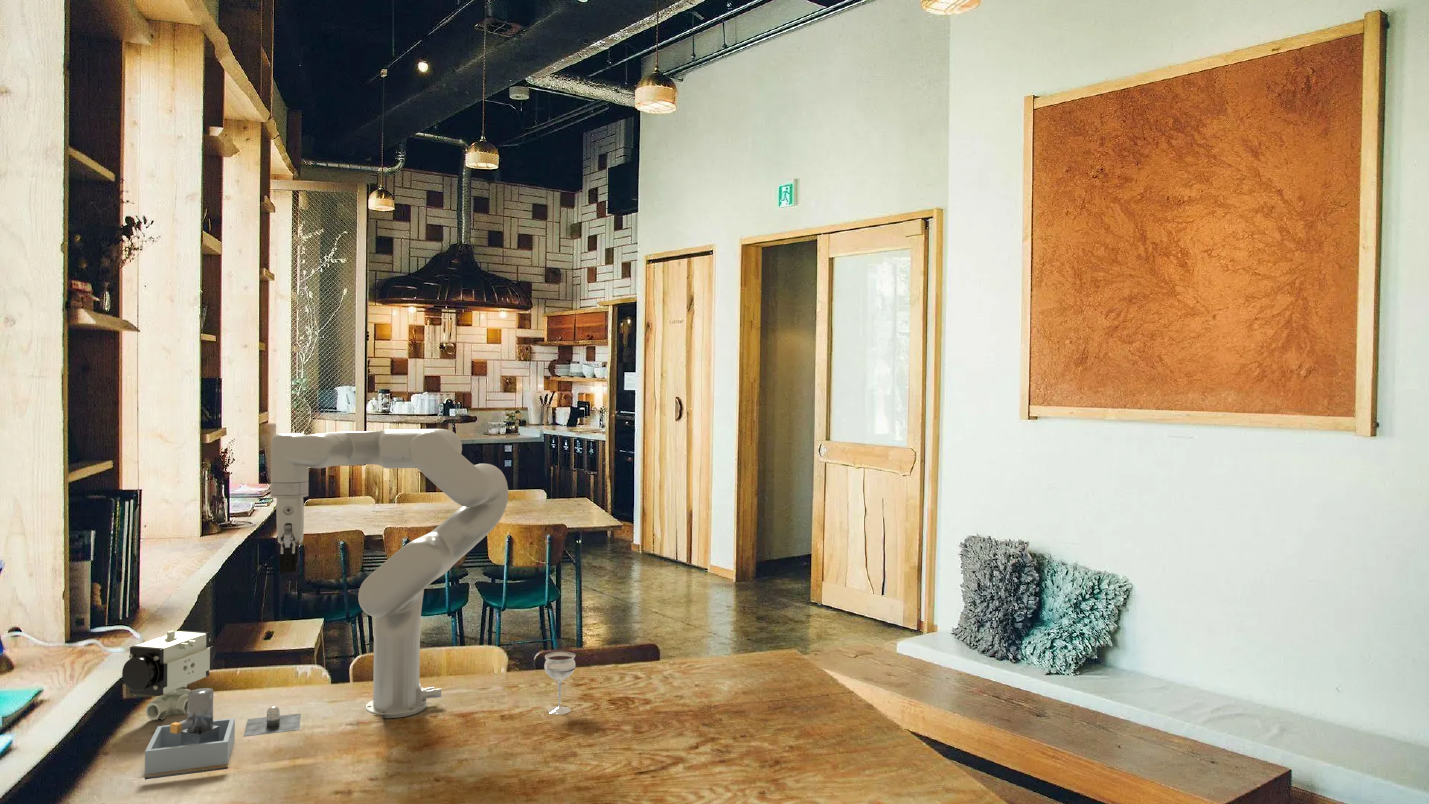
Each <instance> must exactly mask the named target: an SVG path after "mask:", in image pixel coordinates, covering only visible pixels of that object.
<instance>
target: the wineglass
mask: <svg viewBox="0 0 1429 804" xmlns="http://www.w3.org/2000/svg"><path fill="white" fill-rule="evenodd" d="M575 657H576V654H575V653H573V652H569V651H552V652H549V653H547V654H545V655H544V659H545V662H544V665H543V666H544V671H545V674H546V675H547V676H548V677H549V678H551V679H552V680H555V681H556V682H557V697H558V700H557V701H558V702H557V703H558V706H555V707H550V708H549V709H547V712H548V713H549V714H551V715H566V714H569V713H570V712H571V710H572V709H571V708H569V707H567V706H561V702H562V699H561V697H562V696H561V695H562V683H563V682H564V680H566V679H568V678H569V677H570V676H571V675H572V674H573V673H574V672H575V669H576V661H575Z"/></svg>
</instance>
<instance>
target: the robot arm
mask: <svg viewBox="0 0 1429 804" xmlns="http://www.w3.org/2000/svg"><path fill="white" fill-rule="evenodd" d="M270 441H271V442H270V498H273V499H276V507H275V509H276V534H277V535H276V536H277V542H278V543H279V544H280V553H279V565H278V566H279V567H278V569H279V574H283V573H285V574H286V573H295V572H296V571H297V564H298V559H299V558H298V556H299V555H298V554H299V553H298V552H299V551H298V550H299V546H298V544H297V542H298V543H299V544H301V543H302V542H303V541H304V530H305V529H304V523H305V522H304V520H305V519H304V518H305V515H304V514H305V511H304V510H305V509H304V498H306V497H309V479H310V477H309V475H310V474H309V473H310V470H309V468H312V469H324V468H330V467H334V466H342V465H343V466H344V465H346V466H348V465H375V466H376V465H377V466H380V467H382V468H383V469H390V470H391V469H392V470H394V469H418V470H419V472H421V473H422V474H423V476H425V477H426V478H427V479H428V480H429V481H430V482H431V483H433V485H435V486H436V487H437V488H438V489H439V490H440V491H441V492H443V494H445V495H446V496H447V497H448V498H450V499H451V501H454V502H455V503H456V504H458V505H460V507H459V508H458V509H456V510H455V511H454V512H453V513H451V514H450V515H449V516H448V517H447V518H446V519H445V520H444V521H442V522H441V523H440V524H439V525H438V526H436V527H435V528H433V530H432V531H430V532H428V533H426V534H424V535H422V536H419V537H418V538H415V539H413V540H411V541H409V542H408V543H406V544H405V545H404V546H402V547H401V548H400V549H398V551H396V552H395V553H394V554H392V556H390V557H389V558H388V559H387V560H385V561H384V562H383V563H382V564H381V565H379V566H378V567H377V568H376V569H375V570H373V572H371V573H369V575H368V576H367V577H366V578H365V579H364V580H363V581H362V583H361V585H360V586H359V587H360V588H359V589H358V596H357V597H358V604H359V606H360V608H361V610H362V612H364V613H365V614H366V615H368V616H371V617H373V618H374V627H373V671H372V672H373V678H372V679H373V682H372V684H373V685H372V688H373V691H372V700H370V701H369V702H367V703H366V704H365V708H364V709H365V710H366V711H367V712H369V713H370V714H373V715H381V717H382V719H396V718H397V719H398V718H399V719H400V718H404V717H410V716H413V715H416V714H419V713H420V712H423V711H424V710H425V708H427V699H439V698H442V688H441V687H440V688H435V686H429V687H424V686H422V685H421V681H420V669H421V667H420V659H421V655H420V654H421V652H420V651H421V649H420V648H421V647H420V646H421V620H422V619H421V618H422V609H423V601H424V600H423V599H424V593H425V589H426V588H427V587H428V586H429V585H430V584H432V583H433V582H434V581H436V580H437V579H439V578H440V577H442V576H444V575H445V574H446V573H448V571H450V570H451V569H452V567H453V566H455V565H456V564H457V562H458V561H460V560H461V559H462V558H463V557H464V556H465V555H467V554H468V553H469V552H470V551H471V550H472V549H474V547H475V546H476V545H477V544H478V543H480V542H481V541H482V540H483V539H484V538H485V537H486V536H487V535H489V533H491V531H492V530H493V529H495V527H496V526H497V525H498V523H499V522H500V520H501V519H502V518H503V516H504V513H505V511H506V508H507V505H508V501H509V487H508V481H507V479H506V476H505V475H504V473H503V471H502V470H501V469H500V468H498V467H497V466H495V464H494V465H493V464H491V463H478V464H473V462H470V460H468V459H467V458H466V457H465V456H464V455H463V454H462V451H463V444H462V443H463V442H462V440H461V438H460V437H459V435H458V434H456V433H455V432H454V431H452V430H450V429H445V428H420V429H419V428H414V429H413V428H411V429H408V428H407V429H403V428H402V429H397V428H396V429H382V430H377V431H370V430H369V431H330V432H322V433H321V432H319V433H313V434H304V433H297V432H291V433H290V432H287V433H286V432H283V433H281V432H280V433H277V434H274V435H273V436H272V437H271V440H270Z"/></svg>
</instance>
